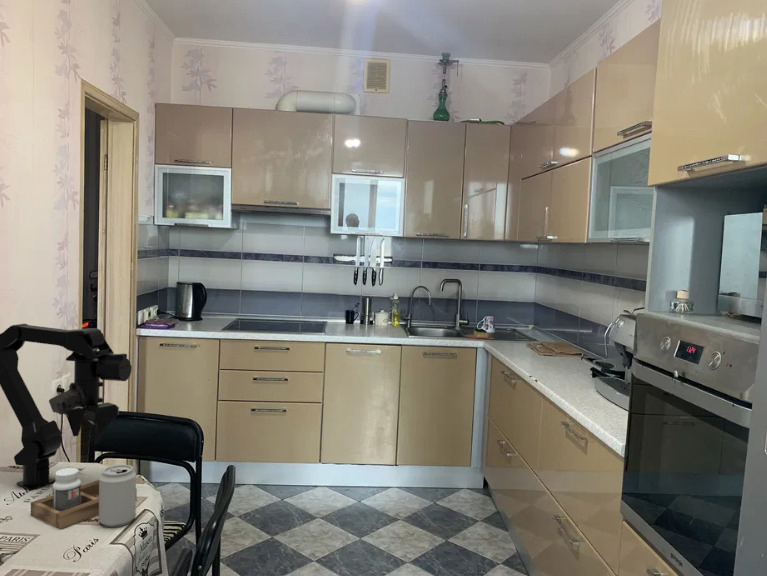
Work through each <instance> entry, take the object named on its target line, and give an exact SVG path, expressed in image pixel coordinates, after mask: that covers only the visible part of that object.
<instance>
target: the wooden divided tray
mask: <svg viewBox="0 0 767 576" xmlns="http://www.w3.org/2000/svg"><path fill="white" fill-rule="evenodd" d="M137 491H138V489H137V487H136V494H137ZM97 496H98V497H97ZM30 516H31V517H33V518H36V519H37V520H38V519H39V520H40V521H42V522H45V523H46V524H48V525H51V526H53V527H54V528H57V529H59V530H63V529H66V528H68V527H71V526H73V525H74V526H75V525H76V524H79V523H81V522H84V521H86V520H90V519H92V518H95V517H97V516H99V479H97V480H95V481H92V482H91V481H90V482H88V483H85V484H81V505H78V506H75V507H73V508H70V509H67V510H64V511H61V512H60V511H58V510H55V509H53V494H52V495H48V496H46V497H42V498H39V499H37V500H33V501H30Z"/></svg>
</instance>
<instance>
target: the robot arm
mask: <svg viewBox="0 0 767 576" xmlns="http://www.w3.org/2000/svg"><path fill="white" fill-rule="evenodd" d="M26 342H28V343H37V344H43V345H44V344H45V345H52V346H59V347H62V348H64V349H66V350H67V351H70V352H71V354H69V356H67V357H66V358H65V361H67V362H74V372H73V373H74V374H73V375H74V381H73V382H71V383H70V384H69V385H68V386H69V388H68V390H66V391H63V392H61V393H59V394H57V395H55V396H53V397H51V398H50V399H49V400H48V403H49V405H50V408H51V411H52V412H53V413H56V414H59V415H65V416H66V419H67V421H68V424H69V428H70V429H71V433H72V436H73V437H78V436H79V434H80V432H81V430H82V429H81V427H82V424H83V420H84V418H85V413H86V412H87V413H86V415H87V417H88V418H86V420H87V421H88V422H89V423H90V424H91V427H92V438H93V439H92V440H93V444H95V445H96V444H99V443H100V442H101V439H102V438H103V436H104V434H105V433H106V431H107V428H108V427H109V425H110V423H111V422H112V420H113V419H115V418H116V417H117V416H119V413H120V411H119V410H120V407H119V406H118V405H116V404H115V403H111V402H109V401H108V402H104V398H102V397H101V396H100V388H103V387H104V382H103V381H114V382H126V381H127V380H128V379H130V376H131V374H132V370H133V369H132V365H131V361H130V360H129V359H128V354H127V353H114V351H113V349H112V347H111V345H109V344H108V342H107V340H106V338H105V336H104V334H103V332H102V330H101V329H99V328H95V327H93V328H77V329H62V328H54V327H47V326H38V325H33V324H32V325H31V324H27V323H20V324H12V325H10V326H9V327H8V328H6V329H5V330H4V331H3V332H1V333H0V388H1V390H2V392H3V394H4V395H5V397H6V400H7V401H8V403H9V405H10V408H11V409H12V411H13V413H14V415H15V416H16V419H17V421H18V422H19V424H20V426H21V438H20V439H21V440H20V441H21V444H22V449H20V450H19V451H18V453H16V454H15V455H14V457H13V459H14V463H15V466H22V480H20V481H17V482H16V485H17V486H19V487H21V488H24V489H26V490H29V491H31V490H36V489H38V488H41V487H44V486H48V485H51V484H54V483H55V482H56V479H53V478H50V458H51V457H54V456H57V455H56V454H57V452H58V449H60V448H61V445H62V443H63V436H62V434H63V432H62V431H61V430H60V428H59V427H58V423H57V422H56V420H54V419H53V420H50V421H48V420H46V419H45V418H44V417H43V416H42V414H41V412H40V409H39V408H38V406H37V404H36V402H35V400H34V398H33V397H32V394H31V393H30V391H29V389H28V387H27V385H26V383H25V381H24V378H23V377H22V375H21V373H20V371H19V369H18V368H19V355H18V351H19V350H20V349H22V347H23V346H24V344H25V343H26ZM101 380H102V381H101Z"/></svg>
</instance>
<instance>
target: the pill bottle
mask: <svg viewBox="0 0 767 576" xmlns="http://www.w3.org/2000/svg"><path fill="white" fill-rule="evenodd" d="M79 475H80V472H79V469H78V468H75V467H67V468H62V469H59V470H57V471H56V472H55V478H54V480H55V482H54V483H52V495H53V509H55V510H58V511H60V512H61V511H64V510H67V509H70V508H73V507H75V506H78V505H81V486H82V481H81V479H80V478H78V477H79Z"/></svg>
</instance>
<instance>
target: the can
mask: <svg viewBox="0 0 767 576" xmlns="http://www.w3.org/2000/svg"><path fill="white" fill-rule="evenodd" d="M98 480H99V495H98V498H99V515H98V522H99V523H101V524H102V525H103V526H104V527H108V528H118V527H122V526H125V525H127V524H129V523H130V522H131V521H132V520H133V519H134V518H135V517H136V507H137V505H136V504H137V493H136V488H137V473H136V472H135V471H134V467H133V465H129V464H114V465H110V466H107V467H105V468H103V470H102V473H101V474H100V476H99V479H98Z"/></svg>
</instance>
